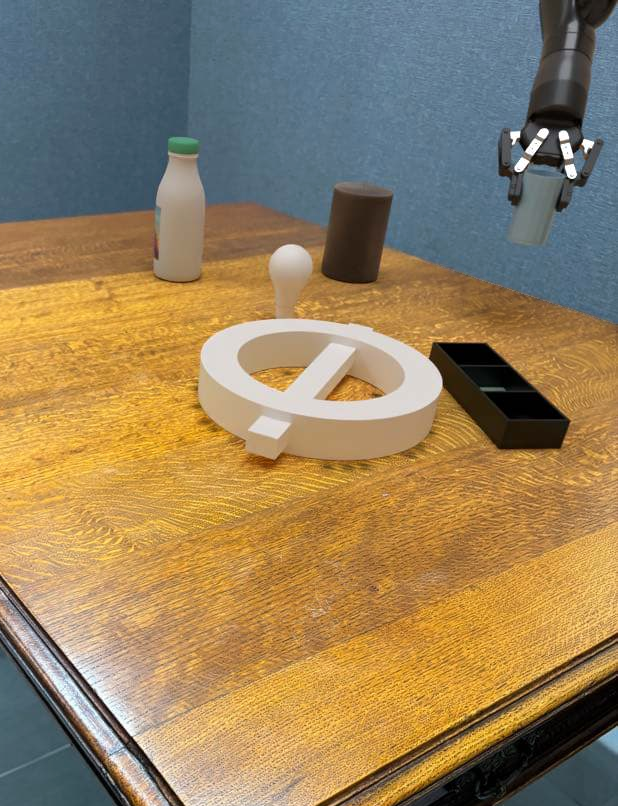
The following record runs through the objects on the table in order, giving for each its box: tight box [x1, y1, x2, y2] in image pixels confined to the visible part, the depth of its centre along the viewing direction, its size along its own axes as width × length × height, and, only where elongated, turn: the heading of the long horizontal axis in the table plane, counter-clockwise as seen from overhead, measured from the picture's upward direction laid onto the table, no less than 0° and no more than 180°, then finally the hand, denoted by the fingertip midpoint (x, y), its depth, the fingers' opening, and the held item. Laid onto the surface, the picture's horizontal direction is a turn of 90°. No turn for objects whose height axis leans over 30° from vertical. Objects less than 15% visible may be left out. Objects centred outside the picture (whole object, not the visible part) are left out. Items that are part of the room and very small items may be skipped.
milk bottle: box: [152, 136, 206, 283], centre depth 125 cm, size 8×8×20 cm
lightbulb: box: [268, 243, 314, 319], centre depth 114 cm, size 6×6×11 cm
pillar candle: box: [320, 179, 394, 284], centre depth 134 cm, size 10×10×15 cm
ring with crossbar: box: [197, 318, 443, 461], centre depth 96 cm, size 28×28×5 cm
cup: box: [505, 168, 566, 247], centre depth 113 cm, size 5×5×9 cm
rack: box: [428, 341, 572, 450], centre depth 99 cm, size 8×22×4 cm, turn 9°
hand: (537, 205), depth 111 cm, fingers closed on cup, 5 cm apart
